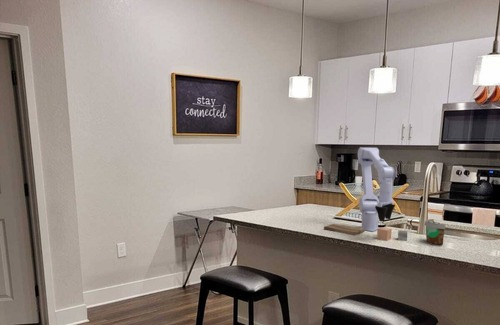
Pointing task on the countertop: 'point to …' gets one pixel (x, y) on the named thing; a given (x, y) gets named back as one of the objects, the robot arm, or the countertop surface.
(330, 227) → the board
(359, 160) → the robot arm
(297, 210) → the countertop surface
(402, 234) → the grey block
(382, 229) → the cube
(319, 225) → the countertop surface
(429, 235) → the food container
